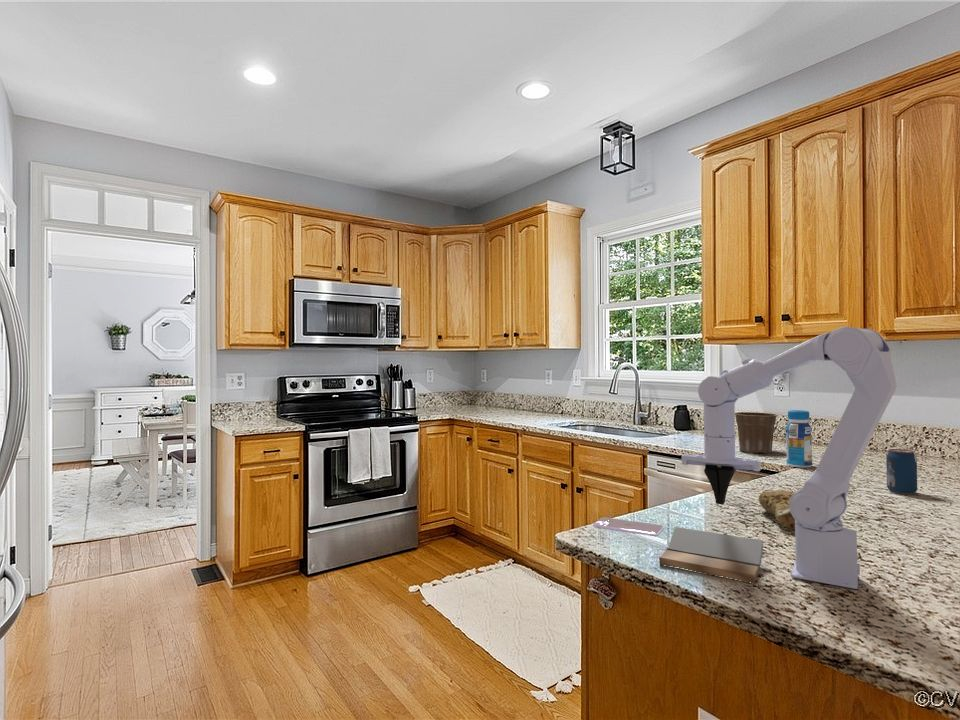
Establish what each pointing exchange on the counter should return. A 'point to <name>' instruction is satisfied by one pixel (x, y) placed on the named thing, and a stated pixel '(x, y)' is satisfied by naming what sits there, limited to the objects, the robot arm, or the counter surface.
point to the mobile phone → (629, 526)
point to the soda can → (901, 471)
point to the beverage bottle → (799, 439)
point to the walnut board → (710, 564)
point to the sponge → (778, 506)
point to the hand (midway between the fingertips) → (720, 503)
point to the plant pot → (755, 431)
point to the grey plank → (717, 545)
